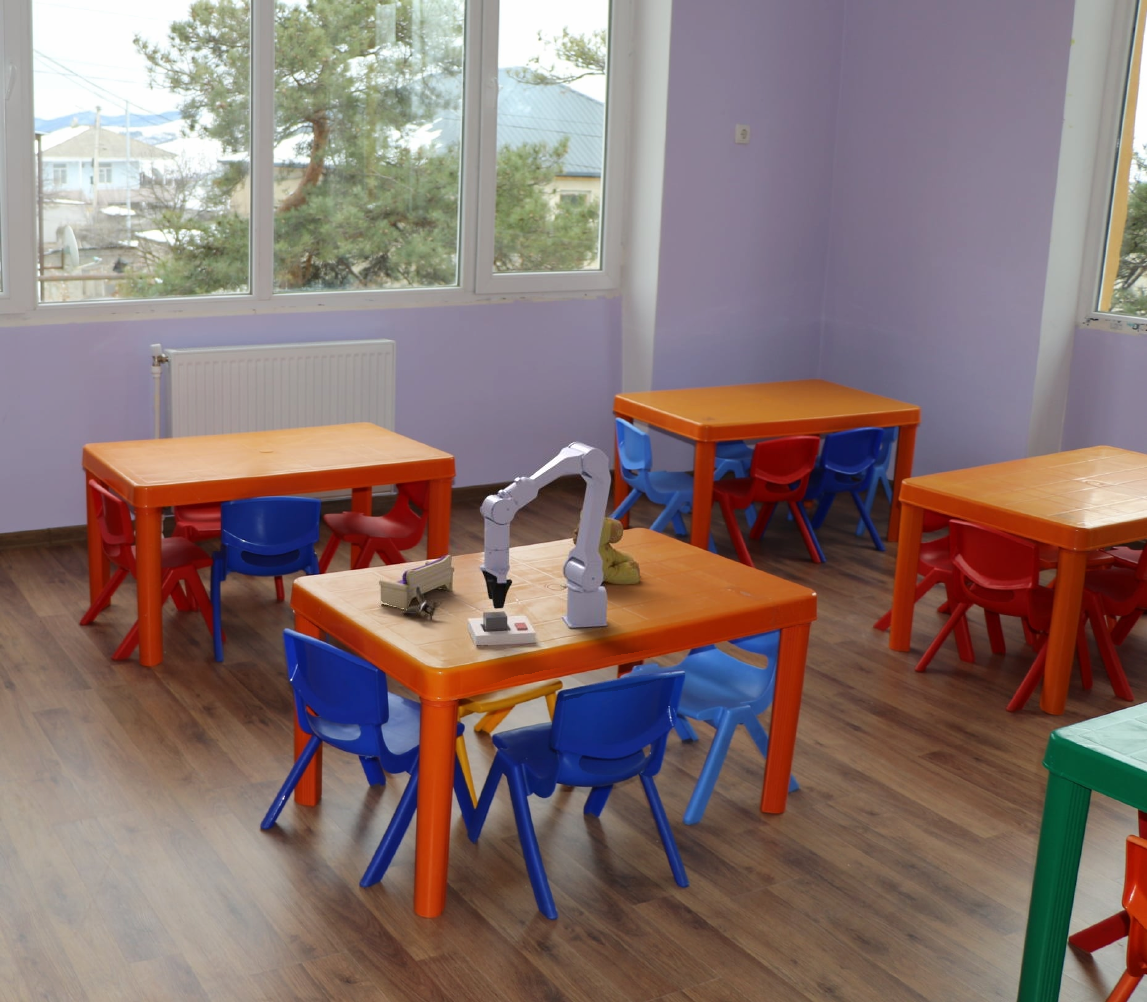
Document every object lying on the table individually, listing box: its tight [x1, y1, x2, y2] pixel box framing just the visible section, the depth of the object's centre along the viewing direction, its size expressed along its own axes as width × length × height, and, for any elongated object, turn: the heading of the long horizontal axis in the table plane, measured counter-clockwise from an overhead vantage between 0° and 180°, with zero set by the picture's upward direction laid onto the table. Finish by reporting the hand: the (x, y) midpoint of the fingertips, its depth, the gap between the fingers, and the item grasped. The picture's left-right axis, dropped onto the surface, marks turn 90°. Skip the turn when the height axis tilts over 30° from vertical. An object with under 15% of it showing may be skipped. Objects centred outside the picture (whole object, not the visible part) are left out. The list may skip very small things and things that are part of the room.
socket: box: [467, 615, 537, 647], centre depth 300 cm, size 14×12×3 cm
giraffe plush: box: [561, 508, 641, 588], centre depth 343 cm, size 20×24×19 cm
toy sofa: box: [378, 554, 455, 609], centre depth 325 cm, size 21×9×10 cm, turn 150°
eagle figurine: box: [402, 587, 444, 620], centre depth 312 cm, size 8×7×9 cm
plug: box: [482, 610, 508, 632], centre depth 299 cm, size 5×4×5 cm
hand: (496, 603), depth 297 cm, fingers open, 6 cm apart
